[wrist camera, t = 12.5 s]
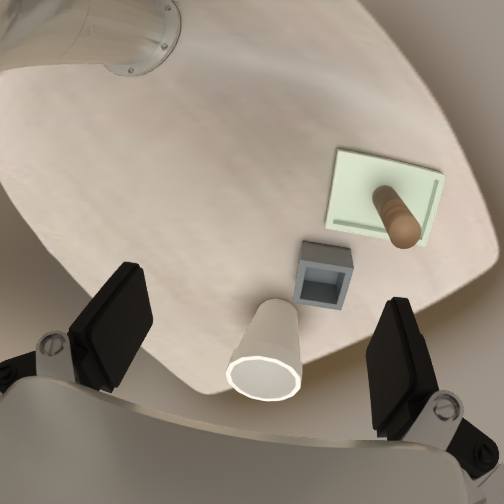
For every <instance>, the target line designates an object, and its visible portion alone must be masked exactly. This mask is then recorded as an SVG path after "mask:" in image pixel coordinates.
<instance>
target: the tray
mask: <svg viewBox="0 0 504 504" xmlns="http://www.w3.org/2000/svg"><path fill="white" fill-rule="evenodd" d="M445 177H446V175H444V174H443V173H441V172H439V171H436V170H432V169H428V168H425V167H421V166H417V165H413V164H409V163H405V162H401V161H397V160H393V159H388V158H384V157H379V156H375V155H370V154H365V153H360V152H355V151H350V150H344V149H339V148H337V153H336V160H335V166H334V173H333V179H332V185H331V191H330V197H329V203H328V208H327V214H326V219H325V229H331V230H337V231H343V232H349V233H354V234H360V235H366V236H371V237H377V238H382V239H388V240H390V238H389V236H388V233H387V231H386V229H385V227H384V225H383V223H382V220H381V218H380V216H379V214H378V212H377V210H376V208H375V206H374V204H373V201H372V196H373V193H374V191H375V190H376V189H377V188H378V187H380V186H384V185H385V186H390V187H392V188H393V189H394V190H395V191H396V193H397V194H398V195H399V197H400V198H401V199H402V201H403V202H404V203H405V205H406V206H407V207H408V209H409V210H410V211H411V213H412V214H413V216H414V217H415V218H416V220H417V221H418V223H419V224H420V226H421V237H420V239H419V241H418V242H417V243H416V244H415V245H419V246H424V247H425V246H426V243H427V240H428V237H429V234H430V231H431V228H432V225H433V221H434V218H435V215H436V211H437V208H438V204H439V201H440V197H441V193H442V189H443V185H444V181H445Z"/></svg>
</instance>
